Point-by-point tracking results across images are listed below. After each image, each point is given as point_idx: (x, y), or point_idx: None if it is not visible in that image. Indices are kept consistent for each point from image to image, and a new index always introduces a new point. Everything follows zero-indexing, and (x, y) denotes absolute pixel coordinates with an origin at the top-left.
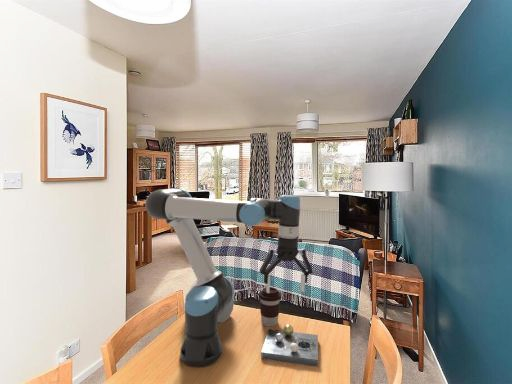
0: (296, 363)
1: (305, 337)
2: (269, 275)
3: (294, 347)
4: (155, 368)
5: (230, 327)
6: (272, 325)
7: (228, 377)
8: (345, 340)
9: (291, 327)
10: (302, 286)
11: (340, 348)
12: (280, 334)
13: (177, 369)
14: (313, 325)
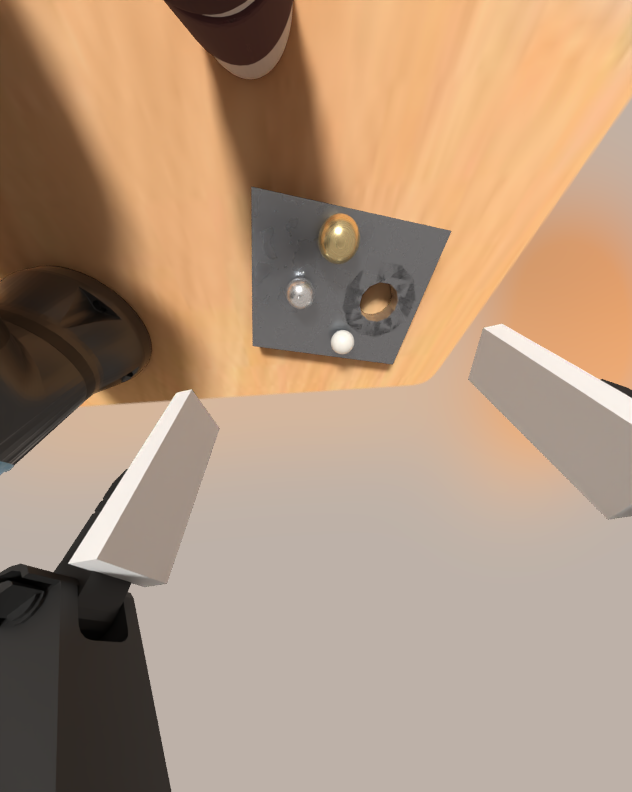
0: None
1: (397, 255)
2: (150, 580)
3: (342, 353)
4: None
5: (50, 108)
6: (265, 74)
7: (203, 394)
8: (546, 216)
9: (352, 251)
10: (499, 404)
11: (490, 273)
12: (304, 302)
13: None
14: (497, 36)
